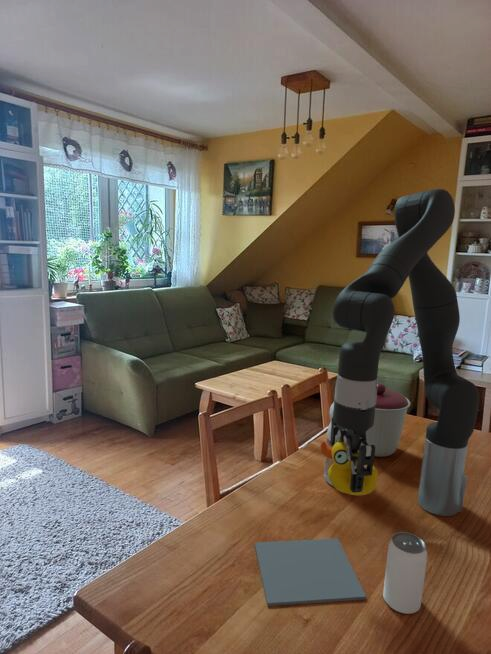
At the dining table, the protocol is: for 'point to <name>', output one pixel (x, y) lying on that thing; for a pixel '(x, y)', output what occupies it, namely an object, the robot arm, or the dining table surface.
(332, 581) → the mat
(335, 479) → the duckling
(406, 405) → the canister
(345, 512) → the dining table surface
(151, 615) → the dining table surface
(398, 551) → the can
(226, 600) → the dining table surface
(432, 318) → the robot arm
